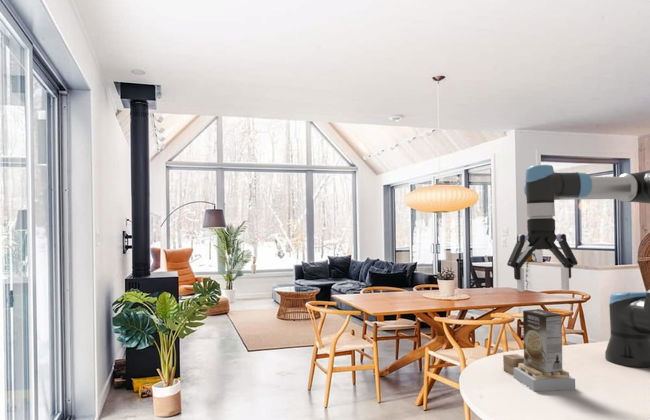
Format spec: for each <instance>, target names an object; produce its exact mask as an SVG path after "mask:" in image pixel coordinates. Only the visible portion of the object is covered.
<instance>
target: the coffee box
mask: <svg viewBox="0 0 650 420" xmlns="http://www.w3.org/2000/svg"><path fill="white" fill-rule="evenodd" d="M522 312H523V313H522V317H523V319H522V320H523V321H522V322H523V323H522V324H523V357H524V364H525V365H527V366H530V367H532V368H535V369H538V370H540V371H543V372H546V373H548V372H555V371H562V369H563V330H562V329H563V327H562V326H563V324H562V323H563V321H562V319H563V318H562V316H563V315H562V314H561V313H558V312H557V313H556V312H553V311H549V310H544V309H540V308H538V309H527V310H522Z"/></svg>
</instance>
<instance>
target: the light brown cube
mask: <svg viewBox="0 0 650 420" xmlns="http://www.w3.org/2000/svg"><path fill="white" fill-rule="evenodd" d="M502 356H503V360H502V361H503V363H502V364H503V372H505V373H507V374H510V375H512V376H513V375H514V373H513V368H516V367H518V363H524V355H521V354H518V353H515V354H514V353H513V354H503V355H502Z"/></svg>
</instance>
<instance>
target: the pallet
mask: <svg viewBox="0 0 650 420" xmlns="http://www.w3.org/2000/svg"><path fill="white" fill-rule="evenodd" d="M518 369H520V370H525V373H526V374H532V377H533V378H534V379H548V378H570V372H569V371H567V370H565V369H564V368H562V371H555V372H548V373H546V372H543V371H540V370H538V369H535V368H532V367H530V366H527V365H525V364H524V363H518Z"/></svg>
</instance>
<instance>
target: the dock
mask: <svg viewBox="0 0 650 420" xmlns="http://www.w3.org/2000/svg"><path fill="white" fill-rule="evenodd" d="M513 373H514V376H513V379H515V380H516V379H517V380H516V381H518V382H519V381H520V382H519V383H521V384H522V383H523V384H522V385H524V386H525V385H526V388H528V387H529V389H530V390H531V391H533V392H545V391H546V392H547V391H548V392H549V391H574V390H576V378H574V377H572V376H570V375H569V376H570V378H548V379H534V378H533V377H532V374H526V373H525V370H520V369H518V367H516V368H513Z"/></svg>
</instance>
